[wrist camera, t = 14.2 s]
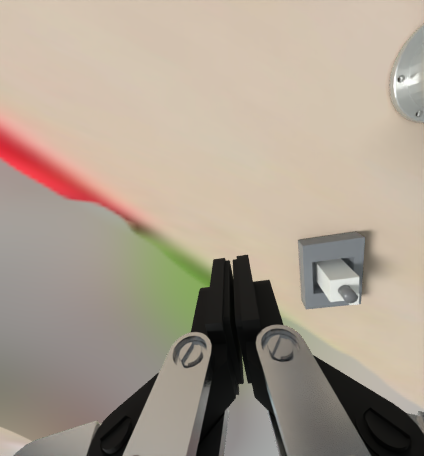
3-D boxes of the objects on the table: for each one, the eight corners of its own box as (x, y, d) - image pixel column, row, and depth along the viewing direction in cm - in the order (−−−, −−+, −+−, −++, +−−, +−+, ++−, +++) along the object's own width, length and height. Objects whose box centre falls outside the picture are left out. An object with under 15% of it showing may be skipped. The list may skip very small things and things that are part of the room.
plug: (340, 258, 38) (367, 284, 31) (340, 277, 40) (365, 307, 32) (315, 261, 39) (336, 288, 31) (316, 280, 40) (336, 310, 33)
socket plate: (356, 231, 36) (367, 238, 34) (353, 295, 41) (362, 306, 38) (298, 239, 38) (303, 247, 35) (301, 300, 43) (306, 311, 40)
